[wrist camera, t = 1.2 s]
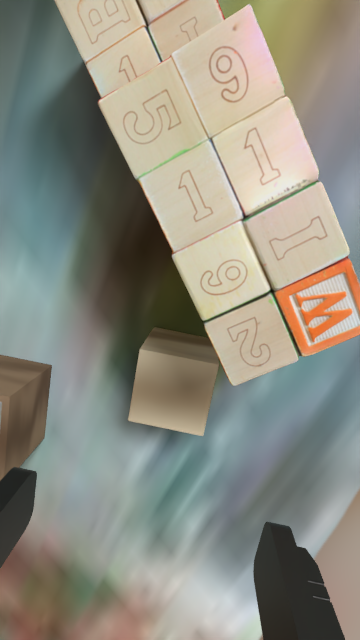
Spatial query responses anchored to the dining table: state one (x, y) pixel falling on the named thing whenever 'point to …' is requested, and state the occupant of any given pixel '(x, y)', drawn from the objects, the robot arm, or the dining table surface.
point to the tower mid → (0, 411)
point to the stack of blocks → (223, 174)
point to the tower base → (22, 409)
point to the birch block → (174, 381)
